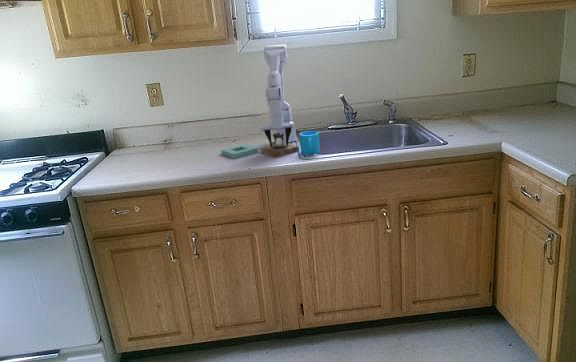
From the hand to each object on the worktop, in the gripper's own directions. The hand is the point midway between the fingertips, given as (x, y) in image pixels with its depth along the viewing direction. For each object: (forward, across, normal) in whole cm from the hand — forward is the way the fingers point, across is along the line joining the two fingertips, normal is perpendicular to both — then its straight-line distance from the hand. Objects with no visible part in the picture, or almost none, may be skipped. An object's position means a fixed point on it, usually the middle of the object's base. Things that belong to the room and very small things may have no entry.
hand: (279, 145), depth 197 cm
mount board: (+3, 0, 0) cm, 3 cm away
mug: (+3, +13, -8) cm, 15 cm away
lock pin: (+3, 0, 0) cm, 3 cm away
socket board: (+3, -18, +5) cm, 19 cm away
